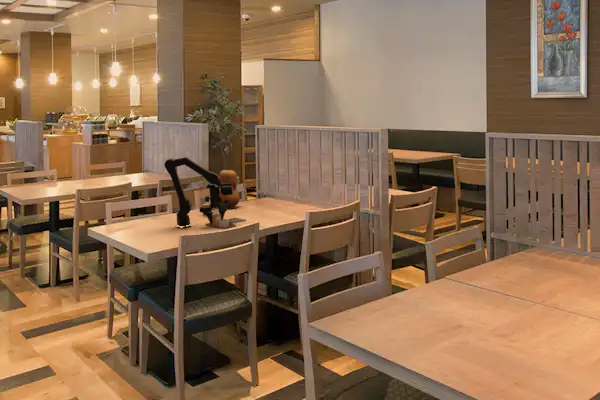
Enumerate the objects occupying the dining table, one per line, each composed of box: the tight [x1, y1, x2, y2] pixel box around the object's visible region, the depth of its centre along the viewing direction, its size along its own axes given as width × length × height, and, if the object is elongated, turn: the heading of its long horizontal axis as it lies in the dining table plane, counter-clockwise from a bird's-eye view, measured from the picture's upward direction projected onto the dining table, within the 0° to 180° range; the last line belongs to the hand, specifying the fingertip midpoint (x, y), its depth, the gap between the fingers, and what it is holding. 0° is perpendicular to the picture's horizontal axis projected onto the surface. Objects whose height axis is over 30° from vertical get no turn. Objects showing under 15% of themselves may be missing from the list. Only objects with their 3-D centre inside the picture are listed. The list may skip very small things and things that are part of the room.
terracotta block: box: [211, 214, 221, 226], centre depth 340 cm, size 4×4×6 cm
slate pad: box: [227, 217, 247, 224], centre depth 350 cm, size 10×10×1 cm
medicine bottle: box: [201, 195, 219, 217], centre depth 370 cm, size 7×7×12 cm
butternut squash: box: [218, 169, 240, 210], centre depth 390 cm, size 14×13×25 cm
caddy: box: [205, 222, 237, 230], centre depth 338 cm, size 9×17×1 cm, turn 45°
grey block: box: [219, 218, 229, 227], centre depth 336 cm, size 4×4×4 cm
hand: (216, 222), depth 341 cm, fingers open, 7 cm apart
